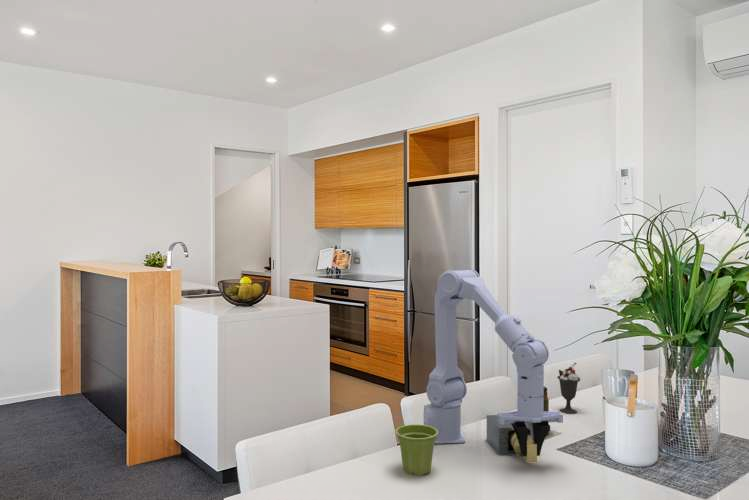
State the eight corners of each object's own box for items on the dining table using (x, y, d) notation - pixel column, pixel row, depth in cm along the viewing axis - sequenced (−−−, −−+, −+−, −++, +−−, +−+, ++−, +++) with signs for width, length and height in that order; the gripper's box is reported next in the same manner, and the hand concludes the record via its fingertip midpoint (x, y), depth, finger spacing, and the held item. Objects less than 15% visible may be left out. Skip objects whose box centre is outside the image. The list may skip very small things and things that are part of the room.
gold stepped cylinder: (520, 465, 122) (520, 442, 122) (501, 443, 135) (501, 423, 135) (543, 464, 123) (543, 441, 122) (522, 443, 136) (522, 422, 136)
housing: (498, 454, 130) (498, 428, 130) (486, 440, 140) (486, 415, 140) (539, 453, 131) (539, 427, 131) (524, 439, 141) (524, 414, 141)
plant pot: (409, 482, 115) (409, 441, 115) (388, 466, 123) (388, 427, 123) (446, 473, 119) (446, 434, 119) (423, 459, 127) (423, 422, 127)
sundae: (583, 414, 161) (584, 364, 161) (561, 414, 161) (561, 364, 161) (575, 408, 168) (576, 359, 168) (553, 408, 168) (554, 359, 168)
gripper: (505, 400, 119) (504, 462, 119) (569, 398, 120) (568, 460, 120) (495, 391, 126) (494, 450, 126) (555, 390, 127) (555, 448, 127)
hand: (530, 454), depth 123 cm, fingers closed on gold stepped cylinder, 2 cm apart
